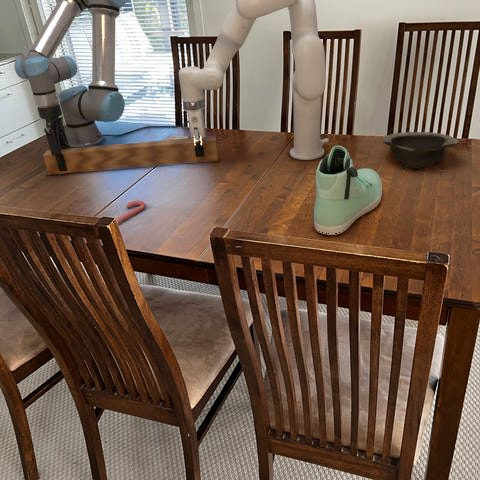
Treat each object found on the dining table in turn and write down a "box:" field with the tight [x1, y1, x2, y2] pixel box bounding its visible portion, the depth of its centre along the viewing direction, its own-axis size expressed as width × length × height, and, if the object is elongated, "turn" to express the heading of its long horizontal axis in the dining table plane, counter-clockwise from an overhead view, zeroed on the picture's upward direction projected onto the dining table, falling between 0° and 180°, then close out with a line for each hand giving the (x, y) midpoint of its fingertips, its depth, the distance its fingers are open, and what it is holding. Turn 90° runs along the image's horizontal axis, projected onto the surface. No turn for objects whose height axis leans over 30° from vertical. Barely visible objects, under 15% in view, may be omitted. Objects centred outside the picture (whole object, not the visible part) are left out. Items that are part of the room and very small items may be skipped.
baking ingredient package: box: [161, 134, 189, 141], centre depth 198 cm, size 9×1×15 cm
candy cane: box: [115, 200, 146, 225], centre depth 145 cm, size 6×15×2 cm, turn 145°
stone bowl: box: [381, 131, 461, 169], centre depth 164 cm, size 25×25×9 cm
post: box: [42, 135, 219, 175], centre depth 176 cm, size 62×5×8 cm, turn 92°
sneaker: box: [313, 145, 383, 236], centre depth 133 cm, size 14×35×20 cm, turn 152°
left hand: (65, 167), depth 178 cm, fingers open, 5 cm apart
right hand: (200, 153), depth 176 cm, fingers closed on post, 5 cm apart
